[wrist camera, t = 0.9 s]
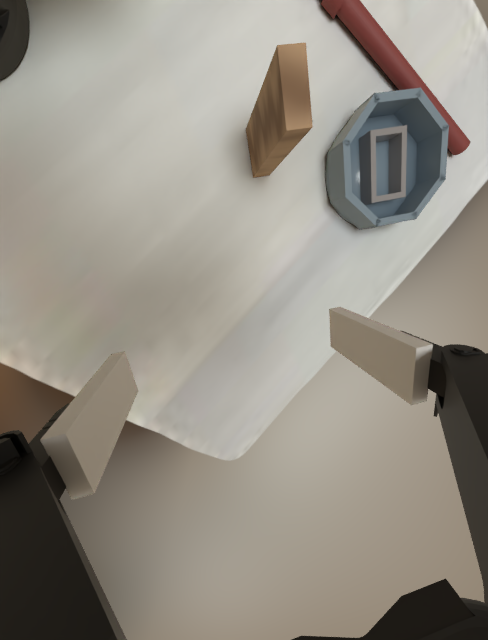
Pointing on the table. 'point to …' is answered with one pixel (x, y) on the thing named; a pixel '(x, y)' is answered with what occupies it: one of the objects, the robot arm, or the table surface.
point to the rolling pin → (390, 59)
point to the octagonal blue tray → (387, 159)
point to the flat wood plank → (280, 110)
